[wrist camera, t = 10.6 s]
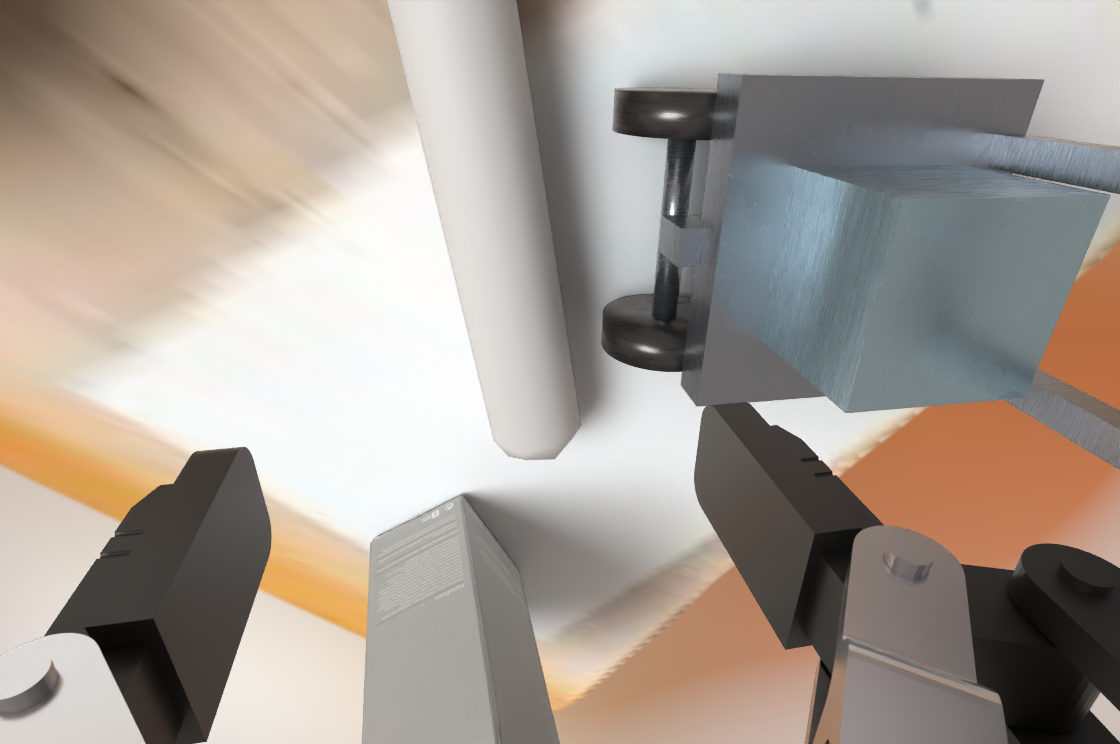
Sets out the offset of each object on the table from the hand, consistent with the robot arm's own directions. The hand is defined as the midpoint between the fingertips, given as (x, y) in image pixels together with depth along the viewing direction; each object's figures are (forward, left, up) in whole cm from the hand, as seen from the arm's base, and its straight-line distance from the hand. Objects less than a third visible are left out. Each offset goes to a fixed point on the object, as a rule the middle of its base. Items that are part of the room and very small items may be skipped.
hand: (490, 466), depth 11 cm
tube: (0, +2, -21) cm, 21 cm away
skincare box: (+21, -1, -21) cm, 30 cm away
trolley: (0, +16, -20) cm, 26 cm away
